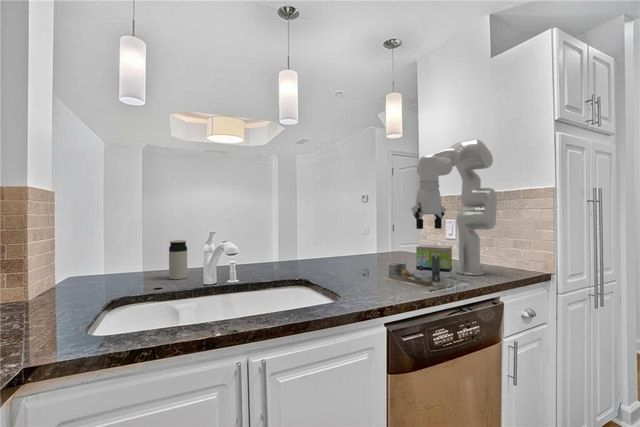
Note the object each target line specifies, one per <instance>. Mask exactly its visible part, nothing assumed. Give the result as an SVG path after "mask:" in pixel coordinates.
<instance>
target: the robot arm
mask: <svg viewBox="0 0 640 427" xmlns="http://www.w3.org/2000/svg"><path fill="white" fill-rule="evenodd" d="M493 163H494V160H493V154H492V153H491V151H490V150H489V148H488V147H487V145H486V144H485V143H484V142H483V141H482V140H480V139H476V138H475V139H469V140H464V141H459V142H458V141H457V142H455V143H454V144H452V145H451V146H448V148H446V149H444V150H441V151H438V152H435V153H433V154H430V155H423V156H421V157H420V158H419V160H418V163H417V167H416V171H417V174H418V175H419V176H418V184H419V185H418V186H419V188H418V189H417V191H416V196H415V205H413V206H412V207H411V212H412V215H413V217H414V219H415V220H416V225H415V227H416V230H423V229H424V219H423V217H424V216H425V215H433V216H434V229H436V230H437V229H438V230H439V229H441V230H442V225H443V224H442V219H443V218H444V216H445V213H446V210H447V208H446V207H444V206H443V205H442V199H441V197H442V196H441V191H440V190H439V188H440V183H439V182H440V181H439V178H440V177H439V176H442V177H443V176H447V175H449V174H450V173H452V170H453V168H454V167H455V168H456V169H457V172H458V174H459V175H460V178H461V182H462V184H461V196H460V198H461V199H460V200H461V201H460V203H461V205H462V206H463V207H465V208H469V209H465V210H460V211H459V212H457V214H456V225H457V230H458V269H456V270H455V273H456V274H458V273H459V274H458V275H462V274H464V275H463V276H472V275H477V276H483V275H485V274H484V271H483V270H481V269H484V267H485V265H484V264H482V263H481V240H480V236H479V234H478V233H477V232H476V230H481V231H482V230H483V231H484V230H488V231H489V230H493V229H494V228H495V226H496V223H497V207H498V205H497V204H498V196H497V192H496V191H495V189H494V188H491V187H481V184H482V183H481V182H482V179H481V177H480V176H479V175H478V174H477V172H476V171H475V170H483V169H488V168H490V167H491V166H492V165H493ZM470 208H471V209H470ZM473 208H477V209H473ZM478 208H484V209H478ZM482 274H483V275H482Z"/></svg>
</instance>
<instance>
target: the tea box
mask: <svg viewBox="0 0 640 427" xmlns="http://www.w3.org/2000/svg"><path fill="white" fill-rule="evenodd" d="M415 253H416V256H415V257H416V261H415V262H416V263H415V267H416V268H415V274H416V273H426V274H429V277H432V255H438V256H440V278H441V277H442V278H451V277H452V275H453V265H452V264H453V246H450V245H433V244H432V245H431V244H419V245H417V246H416V252H415Z"/></svg>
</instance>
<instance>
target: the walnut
mask: <svg viewBox="0 0 640 427" xmlns="http://www.w3.org/2000/svg"><path fill="white" fill-rule="evenodd" d="M409 276H410V271H409V270H408V269H406V270H402V271H401V277H406V278H409Z"/></svg>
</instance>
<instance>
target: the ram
mask: <svg viewBox="0 0 640 427" xmlns="http://www.w3.org/2000/svg"><path fill="white" fill-rule="evenodd" d="M414 274H415V279H416V280H421V281H426V282H430V286H435V287H438V288H440V287H439V286H443V287H445V286H444V285H448V283H449V281H448V280H446V279H443V280H441V277H440V256H438V255H432V276H431V277H432V278H429V277H430V276H429V274H426V273H416V272H415V273H414ZM448 286H449V285H448Z"/></svg>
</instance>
